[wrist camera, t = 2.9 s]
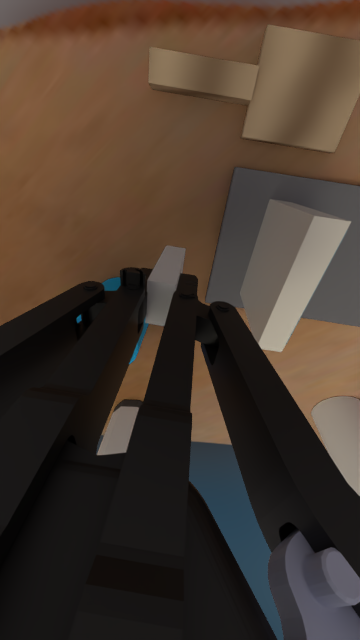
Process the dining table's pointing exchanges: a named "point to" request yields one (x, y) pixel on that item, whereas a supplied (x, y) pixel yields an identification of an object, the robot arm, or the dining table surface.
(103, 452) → the wine bottle
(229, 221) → the mat
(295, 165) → the dining table surface
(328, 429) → the cup
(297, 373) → the dining table surface
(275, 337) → the tile
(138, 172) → the dining table surface
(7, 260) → the dining table surface
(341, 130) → the turner
